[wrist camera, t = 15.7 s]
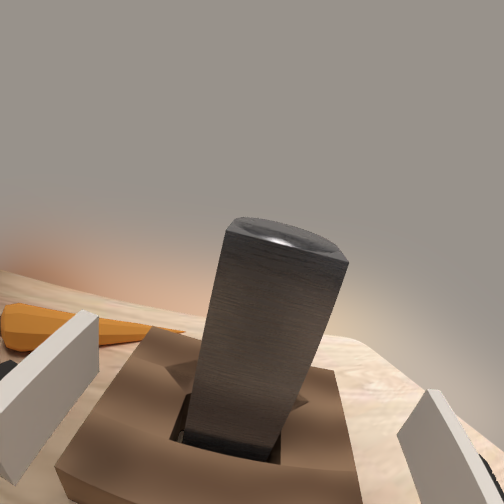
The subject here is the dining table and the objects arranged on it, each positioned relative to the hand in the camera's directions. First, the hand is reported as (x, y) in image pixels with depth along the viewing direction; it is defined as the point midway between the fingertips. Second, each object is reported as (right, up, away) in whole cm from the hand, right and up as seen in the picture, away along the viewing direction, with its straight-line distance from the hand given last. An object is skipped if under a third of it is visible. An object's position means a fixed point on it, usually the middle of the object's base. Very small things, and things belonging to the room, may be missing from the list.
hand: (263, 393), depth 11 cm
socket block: (-3, -9, +8) cm, 12 cm away
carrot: (-15, -4, +16) cm, 23 cm away
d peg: (-3, -9, +8) cm, 12 cm away
